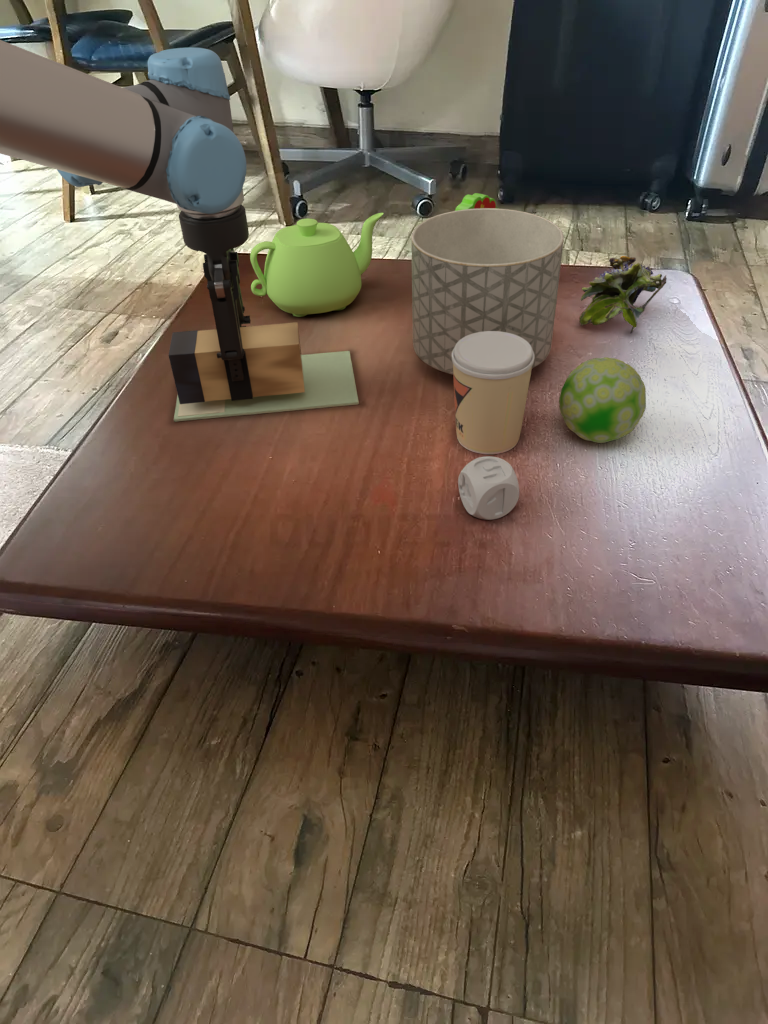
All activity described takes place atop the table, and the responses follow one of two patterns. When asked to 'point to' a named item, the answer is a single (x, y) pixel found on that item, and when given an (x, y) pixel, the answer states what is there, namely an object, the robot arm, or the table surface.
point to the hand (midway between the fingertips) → (242, 384)
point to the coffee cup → (490, 389)
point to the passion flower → (620, 292)
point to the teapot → (312, 267)
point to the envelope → (323, 388)
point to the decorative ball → (602, 399)
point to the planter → (483, 280)
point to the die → (488, 487)
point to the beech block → (267, 359)
